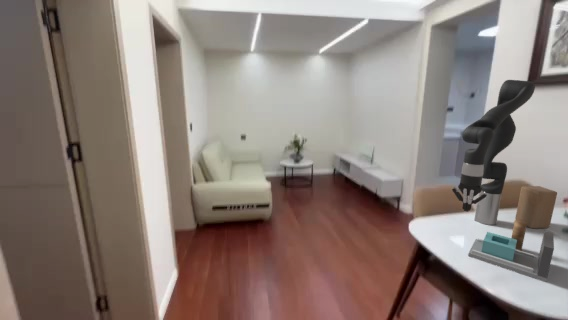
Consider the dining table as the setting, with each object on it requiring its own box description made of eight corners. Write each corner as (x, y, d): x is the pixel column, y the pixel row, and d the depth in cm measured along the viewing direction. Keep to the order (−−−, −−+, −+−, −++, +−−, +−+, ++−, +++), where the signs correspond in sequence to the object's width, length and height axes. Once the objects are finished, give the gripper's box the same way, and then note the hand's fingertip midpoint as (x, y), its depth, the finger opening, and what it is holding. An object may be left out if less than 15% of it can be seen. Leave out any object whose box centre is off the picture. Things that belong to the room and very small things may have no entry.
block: (530, 229, 133) (538, 192, 128) (513, 220, 143) (520, 185, 138) (550, 228, 133) (558, 191, 128) (532, 220, 143) (539, 185, 138)
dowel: (509, 248, 116) (514, 222, 113) (510, 245, 118) (515, 219, 116) (521, 252, 113) (526, 224, 110) (521, 248, 116) (527, 221, 113)
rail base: (468, 256, 111) (472, 227, 108) (475, 241, 122) (479, 215, 119) (546, 282, 94) (554, 248, 91) (546, 262, 105) (553, 232, 102)
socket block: (481, 253, 110) (483, 240, 108) (485, 243, 117) (487, 231, 115) (512, 263, 103) (515, 249, 102) (514, 252, 110) (517, 239, 108)
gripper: (451, 172, 114) (447, 209, 117) (489, 178, 104) (483, 218, 108) (456, 169, 119) (451, 204, 123) (492, 174, 110) (486, 212, 113)
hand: (466, 210), depth 115 cm, fingers closed
